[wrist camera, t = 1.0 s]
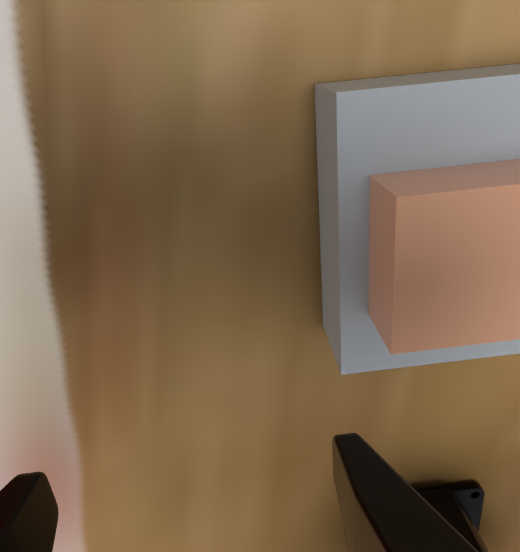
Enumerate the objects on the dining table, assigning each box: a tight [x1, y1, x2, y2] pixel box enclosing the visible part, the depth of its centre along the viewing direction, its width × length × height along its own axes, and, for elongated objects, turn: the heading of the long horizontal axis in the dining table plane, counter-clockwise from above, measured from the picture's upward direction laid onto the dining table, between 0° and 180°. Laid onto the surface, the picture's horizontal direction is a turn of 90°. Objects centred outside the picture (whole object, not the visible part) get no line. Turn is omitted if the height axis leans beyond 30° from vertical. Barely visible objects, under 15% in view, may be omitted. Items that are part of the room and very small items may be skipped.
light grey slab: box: [314, 64, 520, 375], centre depth 18 cm, size 10×12×4 cm
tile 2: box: [368, 159, 520, 354], centre depth 15 cm, size 5×5×2 cm
